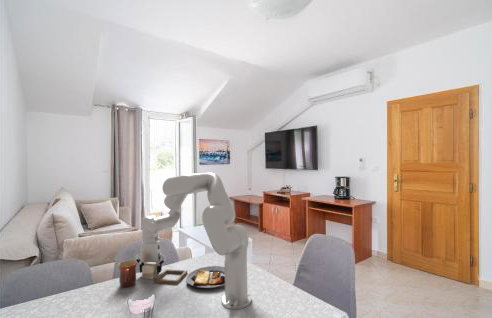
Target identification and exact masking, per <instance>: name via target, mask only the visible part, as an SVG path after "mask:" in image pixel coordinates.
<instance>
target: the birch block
mask: <svg viewBox="0 0 492 318" xmlns="http://www.w3.org/2000/svg"><path fill="white" fill-rule="evenodd" d="M157 266H158V265H157V264H156V262H145V263H144V266H142V273H141V278H142V279H150V280H151V279H152V280H154V279H155V278H156V277H157V276H159V274H157Z"/></svg>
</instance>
